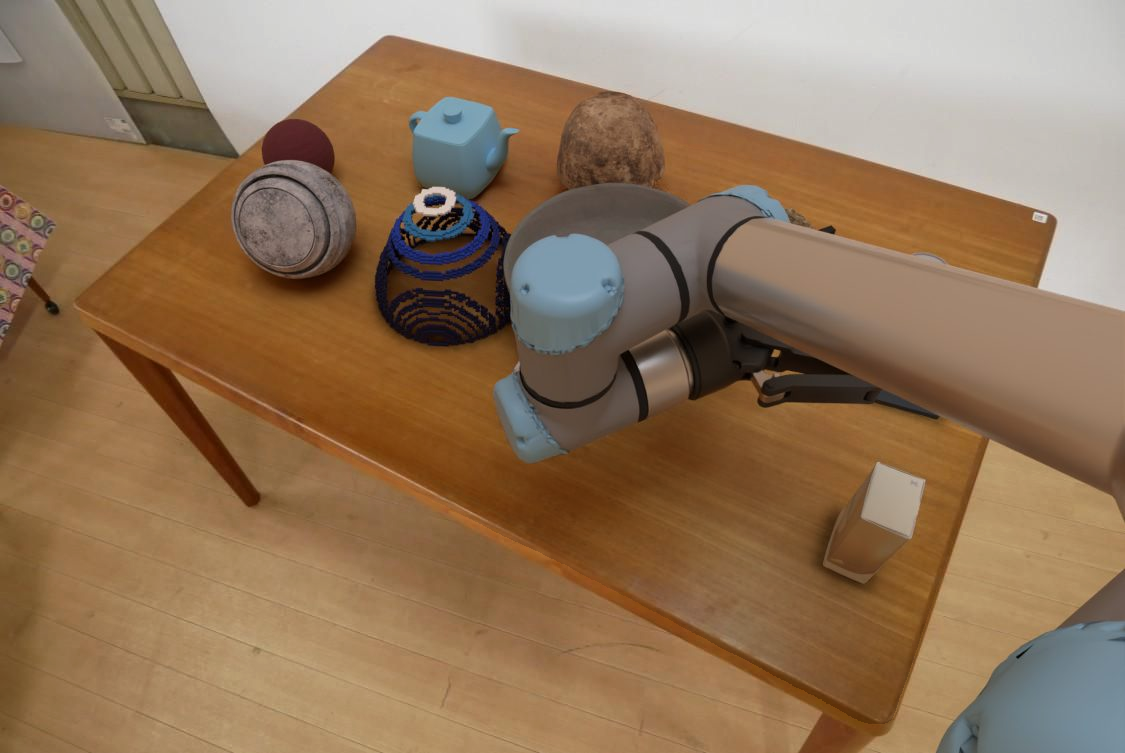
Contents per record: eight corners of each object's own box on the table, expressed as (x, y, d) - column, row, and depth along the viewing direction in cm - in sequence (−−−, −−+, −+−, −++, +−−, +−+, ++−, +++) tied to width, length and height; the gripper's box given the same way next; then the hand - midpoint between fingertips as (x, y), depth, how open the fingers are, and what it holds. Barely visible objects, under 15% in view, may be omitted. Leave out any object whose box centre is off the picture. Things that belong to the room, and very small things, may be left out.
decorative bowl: (519, 350, 85) (508, 267, 74) (361, 341, 87) (326, 258, 75) (538, 238, 97) (531, 150, 85) (399, 231, 99) (373, 144, 87)
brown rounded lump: (666, 167, 105) (676, 74, 93) (655, 238, 96) (665, 146, 84) (568, 157, 107) (566, 66, 95) (548, 226, 98) (543, 135, 86)
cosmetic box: (837, 514, 72) (877, 456, 62) (880, 532, 70) (928, 476, 60) (819, 568, 68) (859, 516, 58) (864, 588, 67) (912, 539, 57)
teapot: (506, 219, 99) (498, 151, 90) (399, 188, 104) (380, 121, 95) (542, 168, 106) (538, 100, 97) (440, 141, 110) (426, 74, 101)
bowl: (738, 267, 92) (753, 209, 84) (684, 425, 78) (695, 373, 70) (556, 222, 99) (553, 164, 91) (475, 361, 85) (464, 307, 77)
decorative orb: (244, 296, 92) (191, 207, 80) (281, 222, 100) (239, 132, 88) (352, 303, 91) (315, 214, 79) (380, 227, 99) (352, 136, 87)
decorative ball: (353, 187, 104) (333, 129, 96) (290, 213, 101) (264, 156, 93) (327, 154, 109) (306, 96, 101) (266, 178, 106) (240, 120, 98)
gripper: (607, 294, 69) (787, 231, 74) (744, 502, 56) (954, 408, 60) (609, 238, 63) (804, 173, 68) (763, 455, 50) (995, 355, 54)
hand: (875, 283), depth 64 cm, fingers open, 13 cm apart
